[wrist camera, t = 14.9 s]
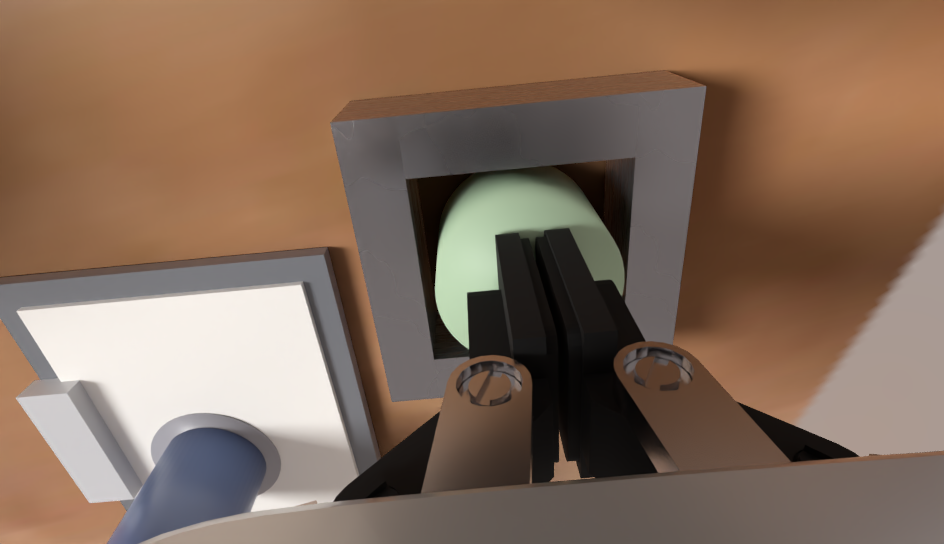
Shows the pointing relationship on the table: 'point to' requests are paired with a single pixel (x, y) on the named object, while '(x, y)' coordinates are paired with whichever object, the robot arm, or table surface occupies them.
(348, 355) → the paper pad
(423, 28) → the table surface
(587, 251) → the button
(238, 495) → the cylinder
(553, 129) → the button base
